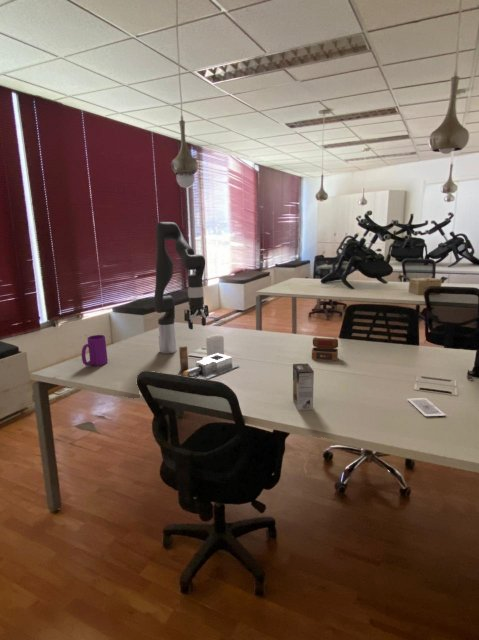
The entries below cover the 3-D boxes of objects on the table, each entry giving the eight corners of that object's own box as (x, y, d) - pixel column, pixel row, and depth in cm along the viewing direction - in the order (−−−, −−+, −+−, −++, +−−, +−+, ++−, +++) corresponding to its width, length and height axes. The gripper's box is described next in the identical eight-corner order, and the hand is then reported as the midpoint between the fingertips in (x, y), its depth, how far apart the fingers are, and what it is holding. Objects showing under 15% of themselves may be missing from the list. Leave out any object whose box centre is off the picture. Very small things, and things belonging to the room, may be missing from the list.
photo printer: (221, 353, 224) (220, 332, 222) (225, 354, 221) (224, 334, 218) (205, 356, 219) (204, 335, 216) (209, 358, 215) (208, 337, 213)
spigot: (179, 369, 200) (177, 347, 197) (185, 367, 203) (183, 345, 200) (183, 371, 197) (182, 348, 195) (189, 368, 200) (188, 346, 198)
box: (294, 365, 202) (294, 344, 199) (302, 349, 227) (302, 330, 225) (350, 370, 193) (351, 347, 191) (352, 352, 219) (352, 332, 217)
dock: (179, 372, 195) (178, 362, 194) (215, 359, 213) (214, 350, 212) (203, 381, 183) (202, 371, 182) (239, 366, 201) (238, 357, 200)
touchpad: (425, 418, 143) (425, 413, 143) (406, 401, 158) (407, 396, 157) (445, 418, 143) (446, 412, 143) (425, 400, 158) (426, 395, 157)
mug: (111, 361, 215) (108, 335, 212) (90, 371, 201) (87, 343, 198) (98, 359, 219) (95, 334, 215) (77, 369, 205) (74, 341, 201)
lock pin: (183, 375, 188) (182, 370, 187) (203, 368, 197) (203, 363, 196) (187, 377, 186) (186, 371, 185) (207, 369, 195) (207, 364, 194)
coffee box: (292, 400, 160) (292, 363, 157) (307, 399, 161) (308, 362, 157) (297, 410, 151) (297, 371, 148) (313, 409, 152) (314, 370, 148)
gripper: (201, 292, 199) (202, 323, 203) (179, 297, 189) (181, 329, 193) (211, 294, 194) (212, 325, 198) (190, 298, 184) (191, 331, 188)
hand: (197, 327), depth 196 cm, fingers open, 8 cm apart
